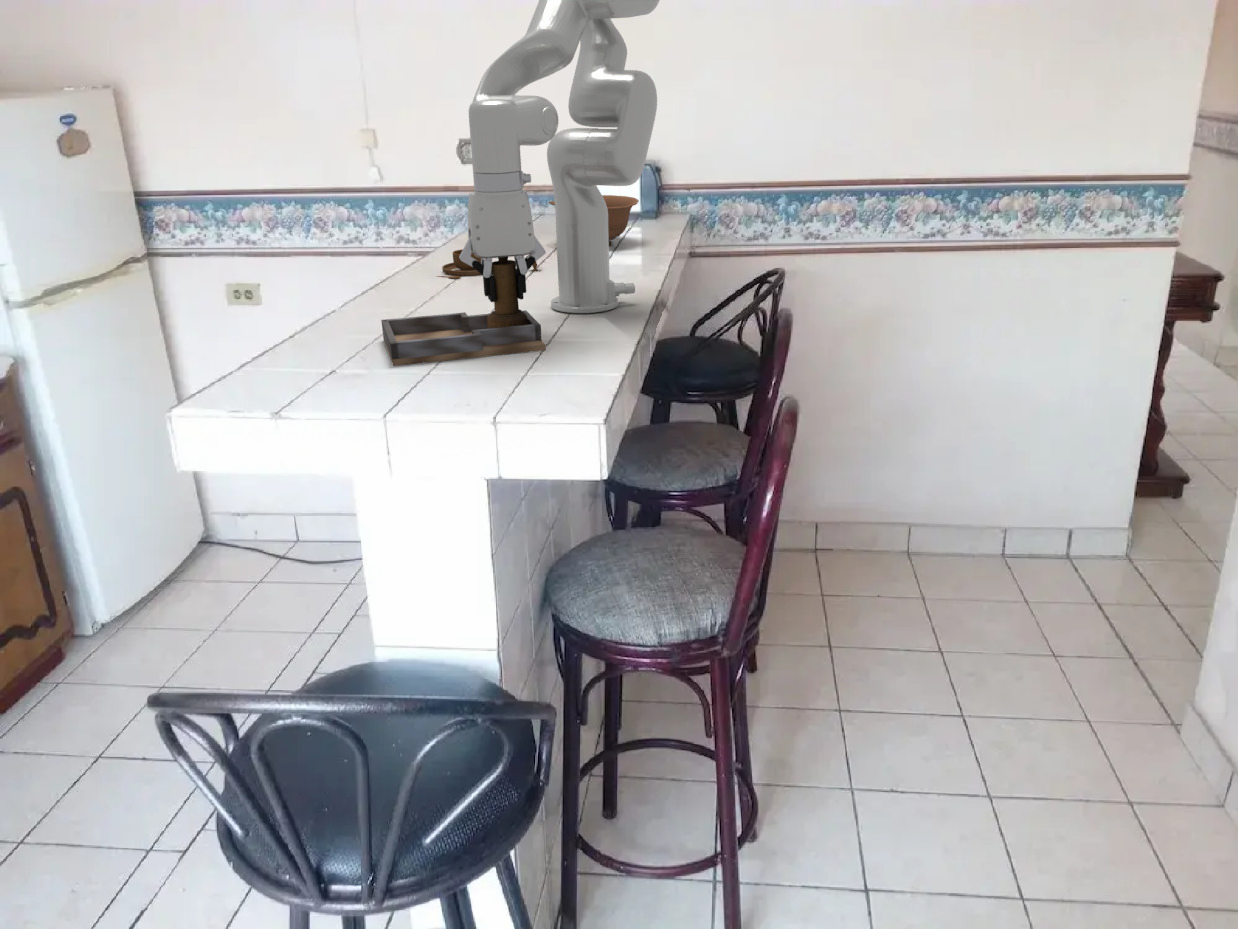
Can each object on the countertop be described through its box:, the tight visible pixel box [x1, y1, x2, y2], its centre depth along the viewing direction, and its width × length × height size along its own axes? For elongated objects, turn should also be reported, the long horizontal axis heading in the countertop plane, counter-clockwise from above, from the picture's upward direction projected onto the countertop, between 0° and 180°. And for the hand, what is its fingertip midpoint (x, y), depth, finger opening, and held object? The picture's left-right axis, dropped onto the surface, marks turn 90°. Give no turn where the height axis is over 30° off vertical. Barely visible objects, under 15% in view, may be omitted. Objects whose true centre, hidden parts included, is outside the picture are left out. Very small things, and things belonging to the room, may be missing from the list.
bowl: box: [548, 194, 639, 247], centre depth 249 cm, size 22×22×11 cm
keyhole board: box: [380, 310, 546, 367], centre depth 165 cm, size 24×16×4 cm, turn 107°
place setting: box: [436, 248, 539, 280], centre depth 221 cm, size 18×20×6 cm
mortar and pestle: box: [487, 257, 528, 329], centre depth 164 cm, size 7×6×18 cm
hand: (505, 297), depth 165 cm, fingers closed on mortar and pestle, 4 cm apart
